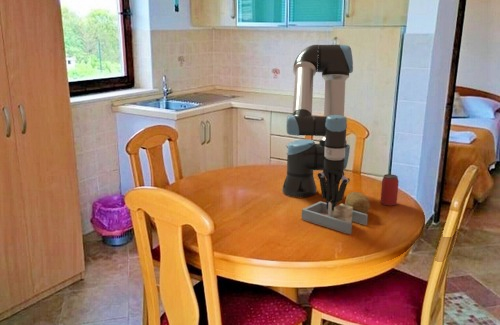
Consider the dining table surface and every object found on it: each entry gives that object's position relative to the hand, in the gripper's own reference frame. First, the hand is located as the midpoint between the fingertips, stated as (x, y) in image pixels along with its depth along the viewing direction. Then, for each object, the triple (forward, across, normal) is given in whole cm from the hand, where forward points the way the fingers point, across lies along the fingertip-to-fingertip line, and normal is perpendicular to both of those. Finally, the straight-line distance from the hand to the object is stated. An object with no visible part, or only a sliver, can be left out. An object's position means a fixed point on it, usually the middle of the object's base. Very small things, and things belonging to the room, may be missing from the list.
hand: (331, 217), depth 188 cm
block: (+2, +5, 0) cm, 5 cm away
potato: (+2, +3, +14) cm, 14 cm away
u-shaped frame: (+1, +2, 0) cm, 2 cm away
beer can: (+1, +7, +33) cm, 33 cm away
